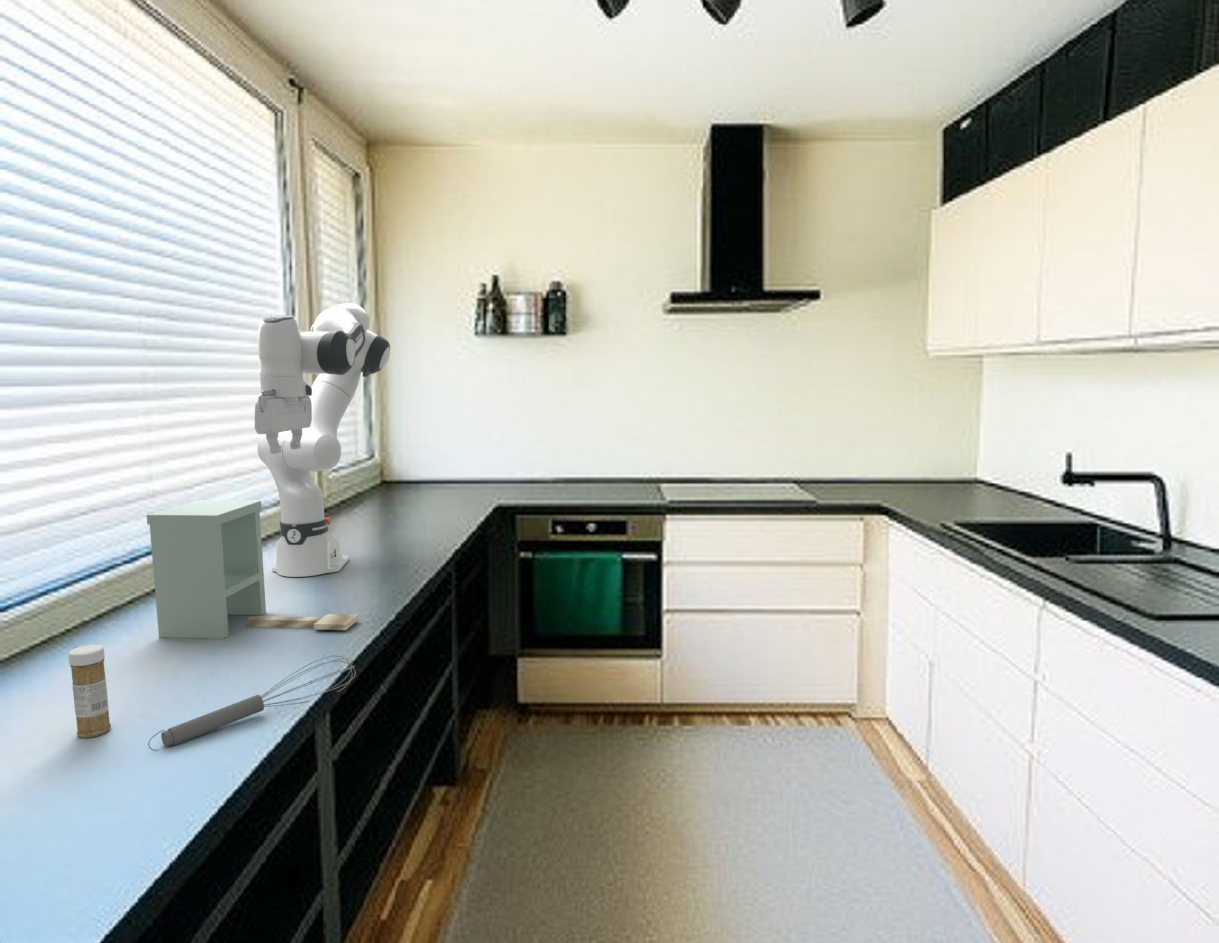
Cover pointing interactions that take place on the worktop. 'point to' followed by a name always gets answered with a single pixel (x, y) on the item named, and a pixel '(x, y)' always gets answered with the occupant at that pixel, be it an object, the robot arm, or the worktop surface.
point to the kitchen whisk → (234, 712)
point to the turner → (305, 622)
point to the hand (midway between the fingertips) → (286, 451)
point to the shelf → (206, 566)
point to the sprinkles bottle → (89, 690)
